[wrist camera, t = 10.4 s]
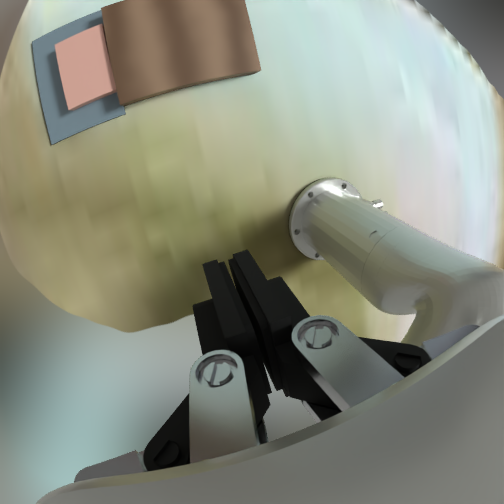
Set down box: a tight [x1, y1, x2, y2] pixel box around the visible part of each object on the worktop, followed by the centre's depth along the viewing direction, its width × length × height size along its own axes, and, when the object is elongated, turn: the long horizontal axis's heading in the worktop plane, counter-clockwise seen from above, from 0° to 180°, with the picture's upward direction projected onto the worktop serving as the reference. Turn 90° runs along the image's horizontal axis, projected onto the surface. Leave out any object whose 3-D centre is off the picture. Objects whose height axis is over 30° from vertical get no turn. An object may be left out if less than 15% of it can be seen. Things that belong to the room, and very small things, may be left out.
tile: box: [55, 24, 117, 111], centre depth 24 cm, size 6×9×2 cm, turn 13°
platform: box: [101, 0, 261, 106], centre depth 25 cm, size 16×13×3 cm
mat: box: [32, 10, 126, 145], centre depth 24 cm, size 10×15×1 cm, turn 11°
